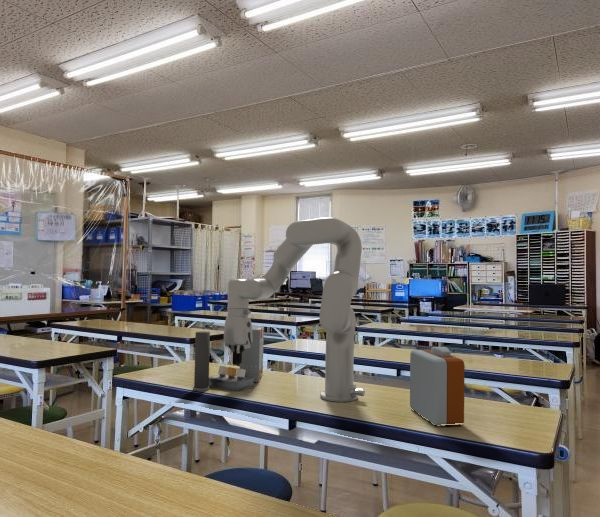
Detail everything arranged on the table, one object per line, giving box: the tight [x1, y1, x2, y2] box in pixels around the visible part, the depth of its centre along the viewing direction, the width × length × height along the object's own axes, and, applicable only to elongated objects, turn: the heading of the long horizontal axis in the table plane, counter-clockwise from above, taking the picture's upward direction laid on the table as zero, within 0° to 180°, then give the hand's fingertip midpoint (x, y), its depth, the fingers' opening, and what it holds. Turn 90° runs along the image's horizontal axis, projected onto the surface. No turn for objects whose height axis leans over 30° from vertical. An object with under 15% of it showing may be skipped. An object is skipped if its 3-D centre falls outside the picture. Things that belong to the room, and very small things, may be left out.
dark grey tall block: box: [192, 331, 211, 392], centre depth 165 cm, size 6×6×20 cm
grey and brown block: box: [409, 346, 466, 425], centre depth 137 cm, size 18×9×21 cm, turn 9°
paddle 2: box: [227, 366, 237, 378], centre depth 170 cm, size 2×3×4 cm, turn 152°
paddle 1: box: [236, 367, 246, 379], centre depth 168 cm, size 2×3×4 cm, turn 151°
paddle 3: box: [217, 365, 229, 376], centre depth 172 cm, size 2×3×4 cm, turn 152°
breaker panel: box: [209, 374, 254, 392], centre depth 170 cm, size 14×9×3 cm, turn 62°
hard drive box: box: [239, 325, 265, 383], centre depth 184 cm, size 16×8×20 cm, turn 179°
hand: (237, 363), depth 169 cm, fingers closed
